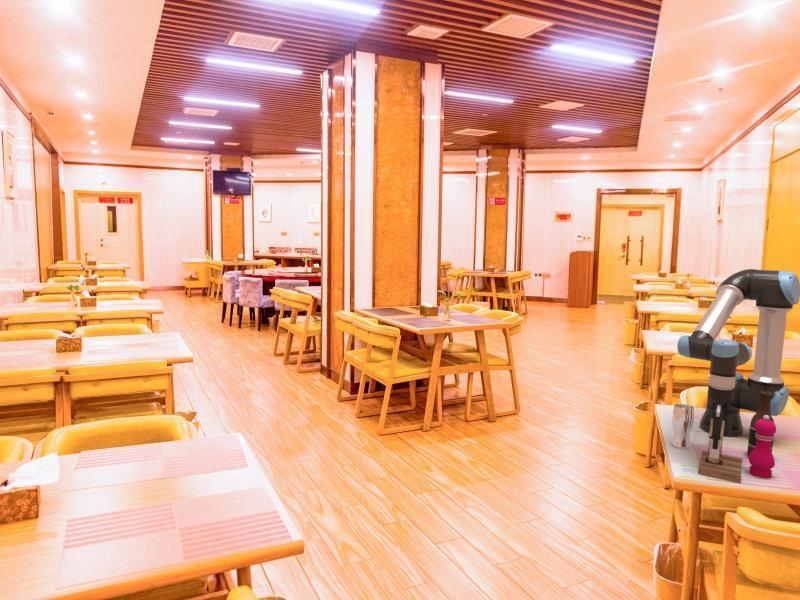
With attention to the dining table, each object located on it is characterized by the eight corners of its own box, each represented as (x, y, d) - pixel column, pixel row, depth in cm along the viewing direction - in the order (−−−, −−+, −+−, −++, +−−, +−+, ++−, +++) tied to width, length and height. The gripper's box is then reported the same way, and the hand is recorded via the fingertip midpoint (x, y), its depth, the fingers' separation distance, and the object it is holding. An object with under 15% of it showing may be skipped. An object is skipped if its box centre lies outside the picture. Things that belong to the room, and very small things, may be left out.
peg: (707, 458, 197) (711, 418, 195) (721, 460, 195) (725, 420, 193) (706, 462, 193) (710, 421, 191) (720, 465, 191) (724, 423, 189)
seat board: (702, 457, 204) (702, 450, 204) (741, 465, 198) (742, 457, 197) (697, 473, 190) (698, 466, 189) (740, 483, 183) (741, 475, 183)
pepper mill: (777, 479, 186) (783, 419, 184) (752, 477, 188) (758, 417, 185) (767, 470, 194) (774, 412, 191) (744, 468, 195) (750, 410, 192)
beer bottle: (766, 454, 207) (773, 389, 204) (775, 463, 200) (783, 395, 197) (742, 452, 209) (749, 387, 206) (750, 461, 201) (758, 393, 198)
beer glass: (665, 442, 217) (669, 403, 215) (682, 441, 218) (685, 403, 216) (678, 449, 210) (682, 409, 208) (695, 448, 211) (698, 408, 210)
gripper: (710, 379, 200) (703, 445, 203) (706, 391, 185) (699, 461, 188) (735, 383, 196) (728, 450, 199) (733, 395, 182) (726, 466, 184)
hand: (714, 455), depth 194 cm, fingers closed on peg, 4 cm apart
